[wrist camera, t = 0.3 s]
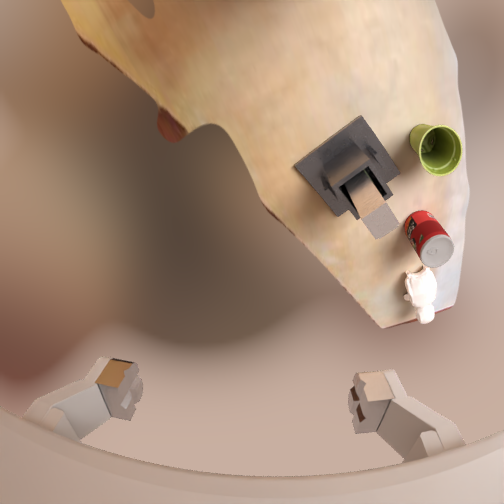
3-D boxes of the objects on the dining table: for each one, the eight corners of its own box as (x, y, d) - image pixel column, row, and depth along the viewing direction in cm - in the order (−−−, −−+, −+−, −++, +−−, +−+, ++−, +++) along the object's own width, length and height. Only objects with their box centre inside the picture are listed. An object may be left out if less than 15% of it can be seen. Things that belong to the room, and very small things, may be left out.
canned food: (402, 213, 58) (420, 241, 49) (433, 205, 56) (455, 232, 47) (404, 242, 62) (420, 272, 53) (434, 234, 60) (453, 263, 51)
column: (353, 154, 51) (386, 200, 35) (366, 173, 53) (402, 226, 36) (335, 167, 53) (359, 219, 37) (349, 186, 55) (376, 243, 38)
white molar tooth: (397, 268, 70) (407, 318, 73) (405, 280, 62) (414, 333, 65) (426, 258, 68) (434, 308, 70) (437, 268, 60) (444, 322, 62)
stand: (360, 115, 48) (382, 129, 37) (398, 171, 53) (424, 199, 42) (294, 164, 55) (298, 191, 44) (336, 214, 60) (348, 250, 50)
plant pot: (398, 156, 51) (414, 172, 44) (404, 111, 46) (424, 120, 39) (436, 163, 51) (456, 179, 44) (444, 121, 45) (466, 131, 38)
